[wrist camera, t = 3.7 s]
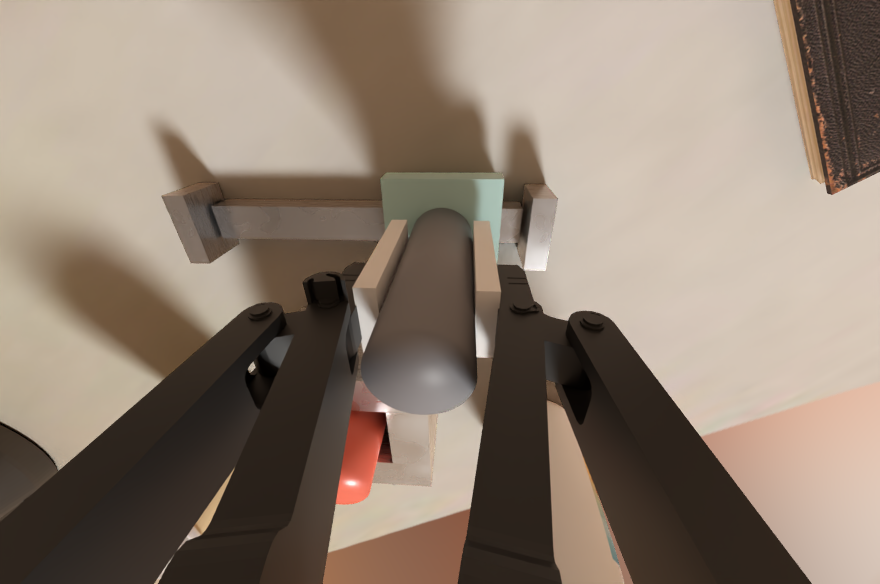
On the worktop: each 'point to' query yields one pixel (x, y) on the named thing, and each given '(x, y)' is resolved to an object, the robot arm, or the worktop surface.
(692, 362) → the worktop surface
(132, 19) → the worktop surface
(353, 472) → the button
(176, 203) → the rail
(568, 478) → the milk bottle
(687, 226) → the worktop surface
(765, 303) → the worktop surface
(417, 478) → the grey block with hole
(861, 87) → the hardcover book
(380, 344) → the carriage
